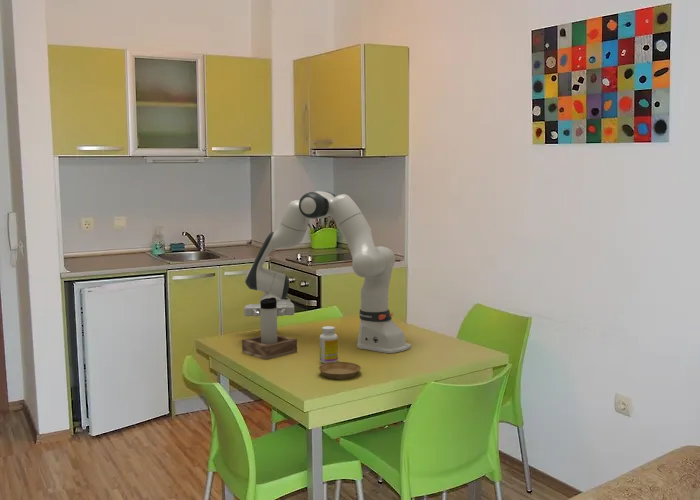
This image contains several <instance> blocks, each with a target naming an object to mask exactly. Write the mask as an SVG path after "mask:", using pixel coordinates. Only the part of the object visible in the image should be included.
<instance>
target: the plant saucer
mask: <svg viewBox="0 0 700 500" xmlns="http://www.w3.org/2000/svg"><path fill="white" fill-rule="evenodd" d="M361 369H362V367H361V365H359V364H357V363H354V362H348V361H337V362H330V363H322V364H320V365H319V366H318V370H319V372H320V373H321V374H322V375H323V376H325V377H326V378H328V379H335V380H345V379H349V378H354V377H355V376H356V375H357V374H358V373H359V372H360V371H361Z"/></svg>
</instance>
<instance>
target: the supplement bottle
mask: <svg viewBox="0 0 700 500" xmlns="http://www.w3.org/2000/svg"><path fill="white" fill-rule="evenodd" d="M321 332H322V334H320V336H319V362H320V363H322V364H325V363H330V362H339V353H338V352H339V347H338V346H339V343H338V342H339V341H338V339H339V338H338V335H337V334H336V333H335V332H336V327H335V326H330V325H329V326H328V325H327V326H326V325H325V326H322V328H321Z"/></svg>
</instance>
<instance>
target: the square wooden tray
mask: <svg viewBox="0 0 700 500" xmlns="http://www.w3.org/2000/svg"><path fill="white" fill-rule="evenodd" d="M241 348H242V349H241V350H242V351H241V352H242V353H243V354H247V355H249V356H253V357H255V358H259V359H262V360H271V359H275V358H279V357H283V356H287V355H291V354H296V353H298V340H297V339H296V338H293V337H290V336H289V337H288V336H284V335H282V334H278V333H277V343H273V344H269V345H266V344H262V343H261V335H257V336H253V337H248V338H244V339H241Z"/></svg>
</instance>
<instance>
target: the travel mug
mask: <svg viewBox="0 0 700 500" xmlns="http://www.w3.org/2000/svg"><path fill="white" fill-rule="evenodd" d="M259 303H260V305H261V307H260V309H261V310H260V312H261V316H260V336H261V343H262V344H266V345H269V344H273V343H277V334H278V316H277V302H276V298H273V297H272V298H267V299H263V300H261V301H260V300H259Z"/></svg>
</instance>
